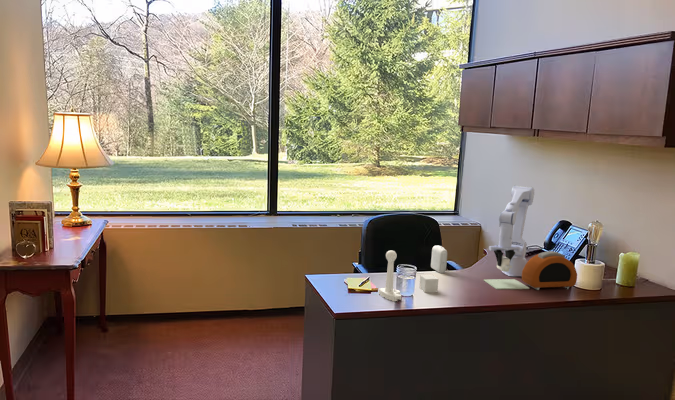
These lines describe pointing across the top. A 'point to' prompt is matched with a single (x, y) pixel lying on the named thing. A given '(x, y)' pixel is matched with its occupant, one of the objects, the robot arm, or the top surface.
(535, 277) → the orange toaster
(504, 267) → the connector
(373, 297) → the top surface
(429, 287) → the white cube
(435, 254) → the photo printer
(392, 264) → the joystick
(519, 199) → the robot arm
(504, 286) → the rubber mat
